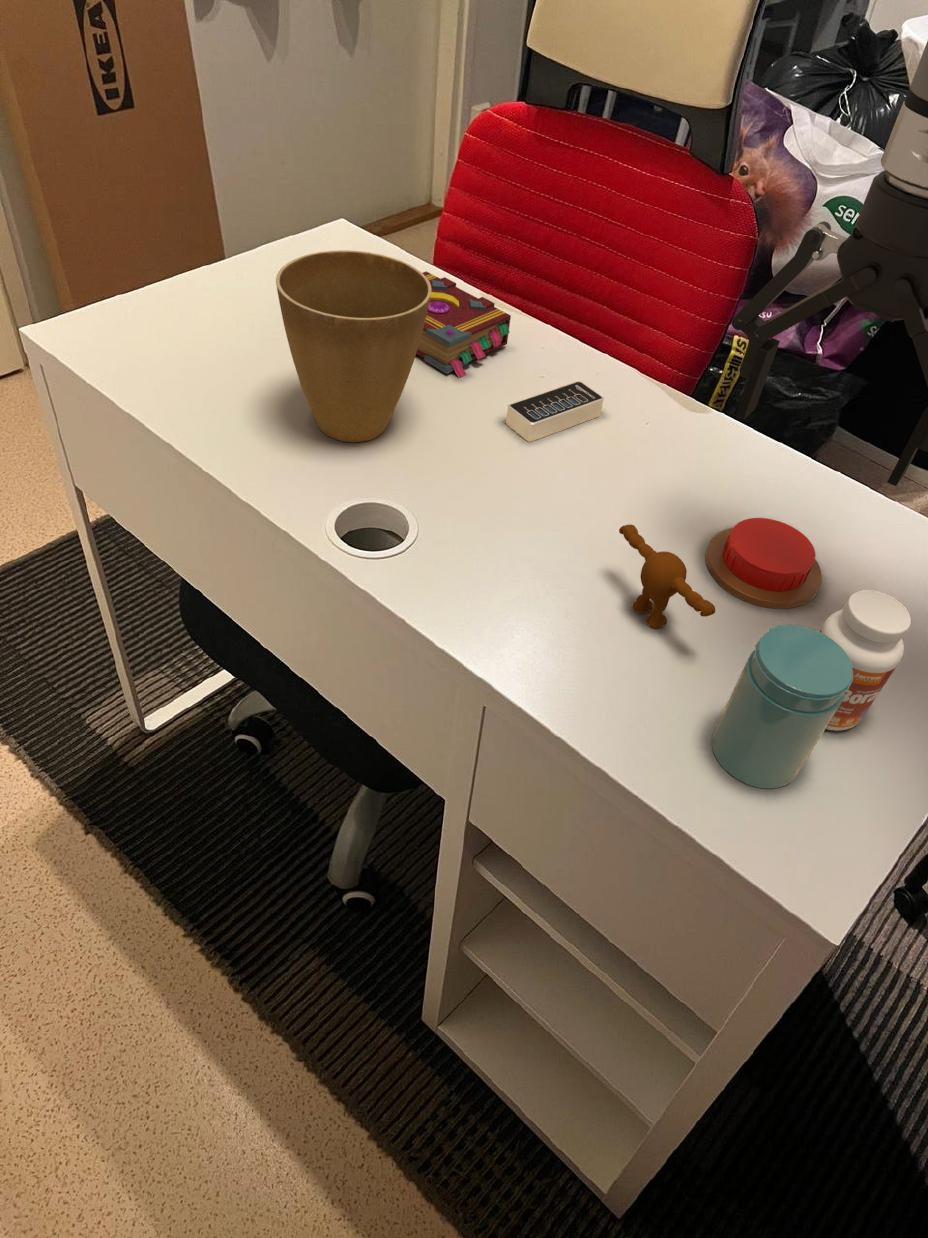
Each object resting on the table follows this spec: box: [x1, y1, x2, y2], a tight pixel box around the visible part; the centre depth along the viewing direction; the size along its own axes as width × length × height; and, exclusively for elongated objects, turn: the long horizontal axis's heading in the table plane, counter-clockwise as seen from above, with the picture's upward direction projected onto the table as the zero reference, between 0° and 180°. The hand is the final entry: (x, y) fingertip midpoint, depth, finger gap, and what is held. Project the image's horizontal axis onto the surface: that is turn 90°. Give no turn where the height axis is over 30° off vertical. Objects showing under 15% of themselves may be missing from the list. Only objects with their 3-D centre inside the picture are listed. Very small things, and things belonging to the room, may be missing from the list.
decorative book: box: [416, 270, 512, 379], centre depth 111 cm, size 11×16×5 cm
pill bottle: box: [819, 589, 912, 732], centre depth 72 cm, size 6×6×11 cm
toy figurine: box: [618, 524, 716, 629], centre depth 79 cm, size 12×4×7 cm, turn 29°
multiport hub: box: [505, 380, 604, 442], centre depth 101 cm, size 4×11×2 cm, turn 127°
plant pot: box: [275, 249, 432, 443], centre depth 92 cm, size 15×15×16 cm
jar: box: [711, 624, 853, 790], centre depth 67 cm, size 7×7×11 cm
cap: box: [723, 517, 816, 591], centre depth 86 cm, size 8×8×2 cm
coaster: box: [704, 527, 823, 610], centre depth 87 cm, size 11×11×1 cm
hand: (818, 444), depth 77 cm, fingers open, 13 cm apart
